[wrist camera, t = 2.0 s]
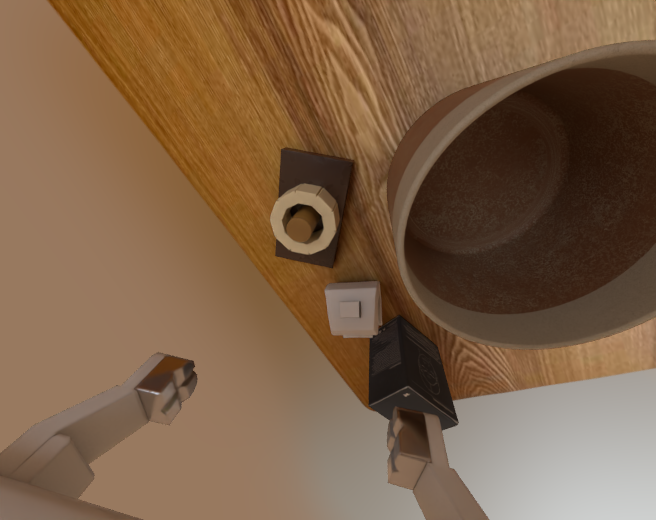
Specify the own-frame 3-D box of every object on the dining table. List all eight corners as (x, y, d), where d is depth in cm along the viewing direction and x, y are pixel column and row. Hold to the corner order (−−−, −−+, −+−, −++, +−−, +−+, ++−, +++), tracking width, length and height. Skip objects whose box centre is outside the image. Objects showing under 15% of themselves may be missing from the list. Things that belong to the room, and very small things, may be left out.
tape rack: (285, 147, 26) (263, 154, 21) (353, 159, 26) (348, 170, 21) (279, 250, 32) (260, 276, 27) (334, 262, 32) (326, 290, 27)
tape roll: (281, 178, 26) (271, 185, 24) (345, 191, 26) (341, 199, 23) (277, 235, 29) (268, 246, 27) (334, 247, 29) (331, 260, 26)
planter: (576, 48, 19) (893, -61, 8) (562, 235, 26) (720, 335, 14) (369, 122, 24) (365, 127, 12) (402, 266, 31) (420, 362, 19)
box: (368, 334, 36) (366, 407, 27) (399, 313, 34) (408, 385, 25) (406, 364, 38) (417, 442, 29) (438, 346, 36) (461, 425, 26)
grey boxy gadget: (380, 282, 34) (377, 270, 25) (384, 334, 33) (382, 343, 23) (336, 284, 35) (318, 274, 26) (338, 335, 34) (319, 343, 25)
